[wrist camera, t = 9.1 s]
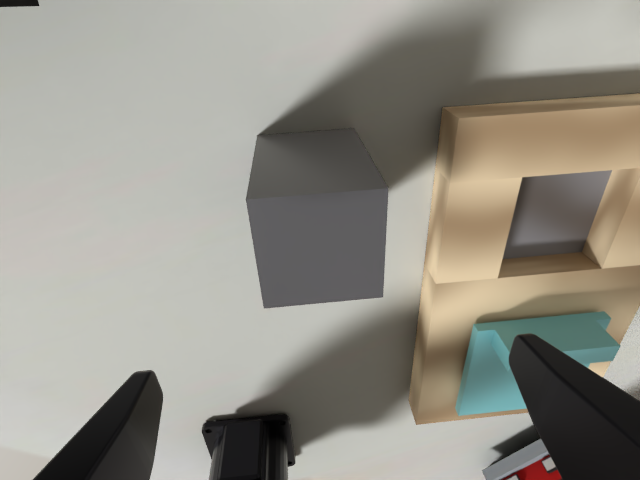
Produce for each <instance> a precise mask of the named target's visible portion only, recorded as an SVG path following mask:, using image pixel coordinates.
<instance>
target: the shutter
mask: <svg viewBox="0 0 640 480" xmlns="http://www.w3.org/2000/svg"><path fill="white" fill-rule="evenodd" d="M610 320H611V317H610V316H609V315H608V314H607V313H606V312H605V311H602V312H592V313H581V314H571V315H561V316H550V317H540V318H530V319H520V320H509V321H499V322H489V323H478V324H473V329H472V333H471V338H470V342H469V347H468V352H467V356H466V361H465V365H464V370H463V374H462V379H461V383H460V388H459V392H458V397H457V402H456V406H455V409H456V411H457V414H458V416H462V415H471V414H481V413H490V412H499V411H508V410H518V409H527V408H526V405H525V403H524V400H523V398H522V395H521V393H520V390H519V388H518V385H517V383H516V380H515V378H514V375H513V373H512V371H511V368H510V365H509V354H510V350H511V347H512V344H513V340H514V338H515V336H516V335H518V334H528V333H532V334H535V335H537V336H538V337H540V338H542V339H543V340H545V341H546V342H548V343H549V344H551V345H553V346H554V347H556V348H557V349H559V350H560V351H562V352H564V353H565V354H567V355H568V356H570V357H571V358H573V359H575V360H576V361H578V362H579V363H581V364H582V365H584V366H586V367H587V368H588V367H589V365H590V363H597V362H607V361H613V359H614V357H615V355H616V353H617V351H618V350H619V348H620V345H619V344H618V343H617V342H616V341H615V340H614V339H613V338H612V337H611V336H610V335H609V334H608V333H607V331H606V329H607V327H608V325H609V323H610Z"/></svg>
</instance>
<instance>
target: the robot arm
mask: <svg viewBox="0 0 640 480" xmlns="http://www.w3.org/2000/svg"><path fill="white" fill-rule="evenodd" d="M509 365H510V368H511V371H512V373H513V375H514V378H515V380H516V383H517V385H518V388H519V390H520V393H521V395H522V398H523V400H524V403H525V405H526V408H527V410H528V412H529V415H530V417H531V419H532V422H533V424H534V426H535V428H536V430H537V432H538V434H539V436H540V438H541V440H542V442H543V443H544V445H545V447H546V449H547V451H548V453H549V455H550V457H551V459H552V460H553V462H554V464H555V466H556V468H557V470H558V472H559V474H560V476H561V477H562V479H563V480H640V401H639V400H637V399H636V398H634V397H633V396H631V395H629V394H628V393H626V392H625V391H623V390H622V389H620V388H618V387H617V386H615V385H614V384H612V383H611V382H609V381H607V380H606V379H604V378H603V377H601V376H600V375H598V374H596V373H595V372H593V371H592V370H590V369H589V368H587V367H586V366H584V365H582V364H581V363H579V362H578V361H576V360H575V359H573V358H571V357H570V356H568V355H567V354H565V353H564V352H562V351H560V350H559V349H557V348H556V347H554V346H553V345H551V344H549V343H548V342H546V341H545V340H543V339H542V338H540V337H538V336H537V335H535V334H532V333H528V334H518V335H516V336H515V338H514V340H513V344H512V347H511V350H510V354H509ZM162 403H163V393H162V389H161V387H160V384H159V382H158V379H157V377H156V374H155V373H154V372H153V371H152V370H147V371H138V372H135V373H134V374H132V375H131V376H130V377H129V379H128V380H127V381H126V382H125V383H124V384H123V385H122V386H121V387H120V388H119V389H118V390H117V391H116V392H115V393H114V394H113V395H112V396H111V397H110V399H109V400H108V401H107V402H106V403H105V404H104V405H103V406H102V407H101V408H100V409H99V410H98V411H97V412H96V413H95V414H94V415H93V416H92V418H91V419H90V420H89V421H88V422H87V423H86V424H85V425H84V426H83V427H82V428H81V429H80V430H79V431H78V432H77V433H76V434H75V435H74V437H73V438H72V439H71V440H70V441H69V442H68V443H67V444H66V445H65V446H64V447H63V448H62V449H61V450H60V451H59V452H58V453H57V454H56V456H55V457H54V458H53V459H52V460H51V461H50V462H49V463H48V464H47V465H46V466H45V467H44V468H43V469H42V470H41V472H39V473H38V475H37V476H36V477H35V478H34V479H33V480H149V479H150V475H151V471H152V467H153V462H154V456H155V450H156V443H157V436H158V430H159V423H160V417H161V410H162ZM202 434H203V436H204V439H205V442H206V445H207V448H208V450H209V453H210V456H211V459H212V463H211V469H210V476H209V480H288V466H293V465H294V464H295V454H294V447H293V440H292V433H291V427H290V420H289V416H287V415H285V414H280V415H271V416H261V417H252V418H242V419H233V420H223V421H214V422H207V423H204V424H203V427H202Z"/></svg>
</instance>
